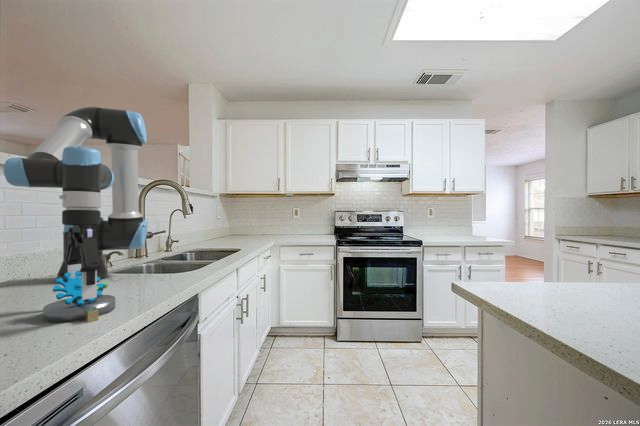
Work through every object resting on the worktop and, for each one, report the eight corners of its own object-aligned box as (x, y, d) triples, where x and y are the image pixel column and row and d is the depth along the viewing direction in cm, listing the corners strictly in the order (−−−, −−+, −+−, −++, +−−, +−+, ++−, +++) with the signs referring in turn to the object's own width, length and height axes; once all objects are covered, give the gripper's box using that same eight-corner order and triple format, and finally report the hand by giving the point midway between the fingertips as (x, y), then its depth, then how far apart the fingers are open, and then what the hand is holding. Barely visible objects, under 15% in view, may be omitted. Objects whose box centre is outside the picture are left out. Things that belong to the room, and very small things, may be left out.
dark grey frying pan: (37, 313, 72) (38, 303, 72) (105, 300, 83) (105, 291, 83) (52, 330, 62) (52, 318, 62) (127, 313, 73) (127, 303, 73)
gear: (54, 304, 66) (54, 269, 71) (47, 318, 68) (48, 283, 74) (111, 300, 75) (107, 268, 80) (103, 313, 77) (100, 282, 82)
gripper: (51, 209, 78) (50, 288, 78) (76, 208, 63) (75, 307, 63) (86, 209, 84) (85, 283, 84) (116, 209, 69) (116, 299, 68)
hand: (81, 293), depth 73 cm, fingers open, 13 cm apart
